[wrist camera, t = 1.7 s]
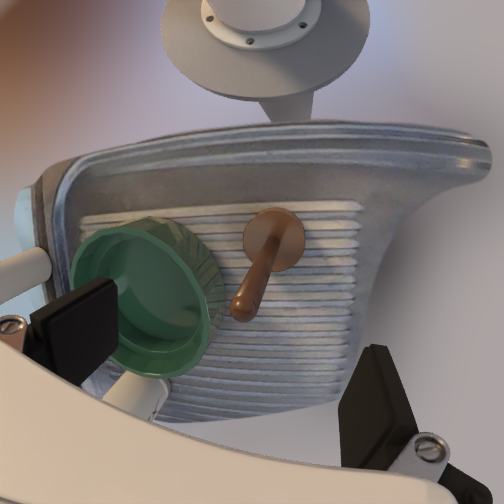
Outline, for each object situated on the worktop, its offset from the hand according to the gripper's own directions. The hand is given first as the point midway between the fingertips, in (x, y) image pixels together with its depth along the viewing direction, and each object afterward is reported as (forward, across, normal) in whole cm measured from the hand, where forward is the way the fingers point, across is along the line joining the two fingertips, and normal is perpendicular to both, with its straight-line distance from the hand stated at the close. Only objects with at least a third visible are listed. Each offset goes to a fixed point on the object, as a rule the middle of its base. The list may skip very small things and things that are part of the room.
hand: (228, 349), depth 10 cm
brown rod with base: (+18, 0, -1) cm, 18 cm away
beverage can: (+18, +30, +10) cm, 36 cm away
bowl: (+18, +11, +8) cm, 22 cm away
